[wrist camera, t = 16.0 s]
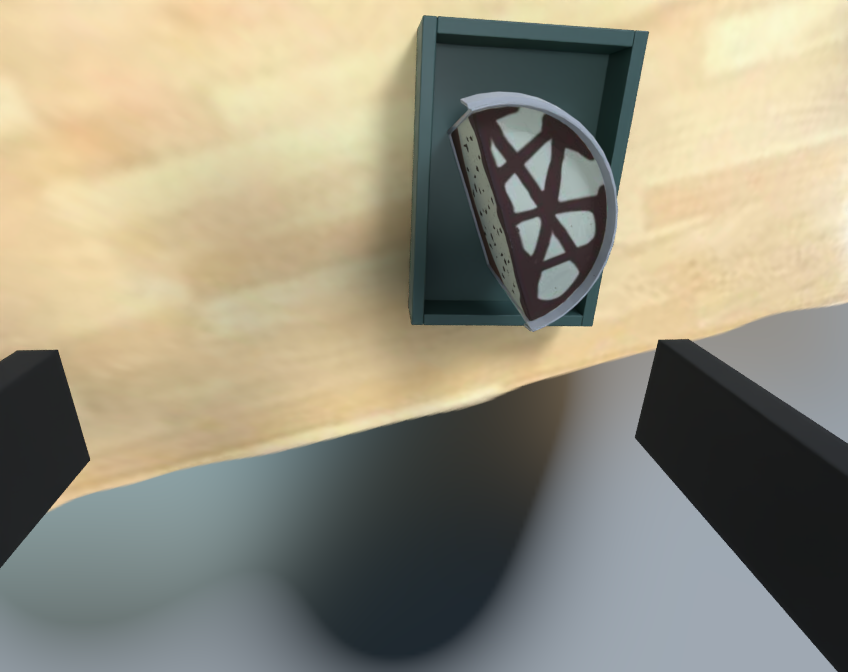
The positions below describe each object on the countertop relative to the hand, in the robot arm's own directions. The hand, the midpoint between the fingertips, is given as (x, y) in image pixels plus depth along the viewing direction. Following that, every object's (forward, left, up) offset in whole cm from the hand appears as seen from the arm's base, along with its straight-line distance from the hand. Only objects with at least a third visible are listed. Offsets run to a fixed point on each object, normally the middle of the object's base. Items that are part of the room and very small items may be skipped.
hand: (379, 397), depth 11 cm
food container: (+9, +3, -24) cm, 25 cm away
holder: (+9, +2, -24) cm, 25 cm away
